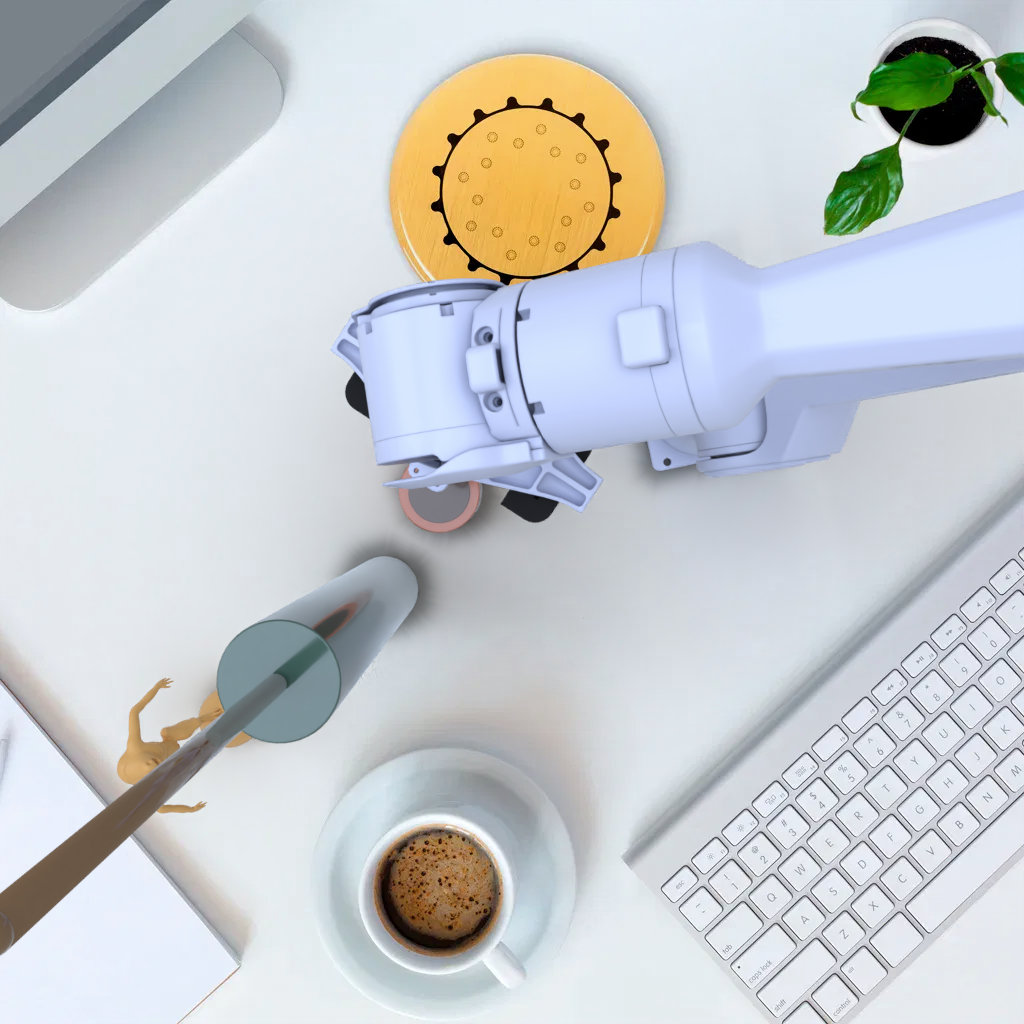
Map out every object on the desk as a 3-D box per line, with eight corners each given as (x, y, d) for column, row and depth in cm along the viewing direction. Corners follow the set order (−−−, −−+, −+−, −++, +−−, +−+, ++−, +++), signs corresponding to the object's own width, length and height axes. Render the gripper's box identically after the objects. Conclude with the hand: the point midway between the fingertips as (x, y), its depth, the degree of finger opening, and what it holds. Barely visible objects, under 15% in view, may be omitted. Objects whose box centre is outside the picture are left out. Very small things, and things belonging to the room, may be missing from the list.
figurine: (282, 760, 65) (231, 823, 53) (198, 782, 65) (127, 850, 53) (250, 643, 65) (192, 680, 53) (165, 666, 65) (87, 707, 53)
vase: (410, 549, 65) (85, 774, 15) (424, 615, 65) (149, 1054, 15) (344, 563, 65) (-201, 834, 15) (358, 629, 65) (-134, 1114, 15)
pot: (434, 440, 65) (426, 435, 59) (496, 480, 65) (495, 480, 59) (394, 502, 65) (382, 504, 59) (456, 542, 65) (451, 548, 59)
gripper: (273, 394, 42) (331, 415, 55) (552, 574, 42) (541, 551, 55) (360, 257, 41) (397, 312, 55) (640, 439, 42) (607, 449, 55)
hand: (474, 425), depth 55 cm, fingers open, 7 cm apart
